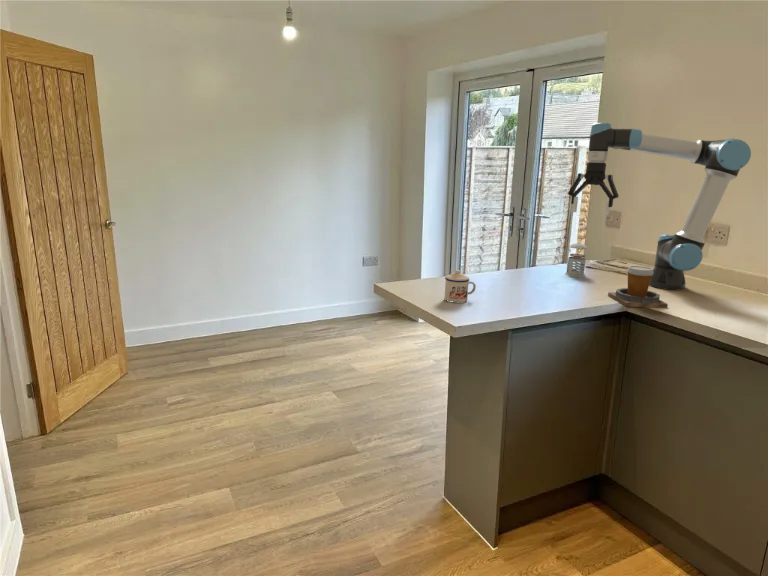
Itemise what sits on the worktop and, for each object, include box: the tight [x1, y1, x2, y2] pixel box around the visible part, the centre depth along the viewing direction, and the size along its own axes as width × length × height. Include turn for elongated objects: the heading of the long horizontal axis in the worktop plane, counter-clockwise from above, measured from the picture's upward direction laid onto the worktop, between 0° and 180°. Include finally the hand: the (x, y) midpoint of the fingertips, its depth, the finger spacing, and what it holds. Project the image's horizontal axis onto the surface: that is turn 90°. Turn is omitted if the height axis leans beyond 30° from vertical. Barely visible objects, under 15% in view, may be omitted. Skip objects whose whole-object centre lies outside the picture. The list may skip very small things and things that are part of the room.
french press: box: [562, 222, 588, 278], centre depth 255 cm, size 10×12×25 cm
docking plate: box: [607, 287, 669, 309], centre depth 211 cm, size 16×16×4 cm
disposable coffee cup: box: [626, 265, 654, 297], centre depth 209 cm, size 10×10×12 cm
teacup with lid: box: [444, 269, 477, 303], centre depth 203 cm, size 12×9×12 cm
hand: (590, 213), depth 227 cm, fingers open, 13 cm apart
